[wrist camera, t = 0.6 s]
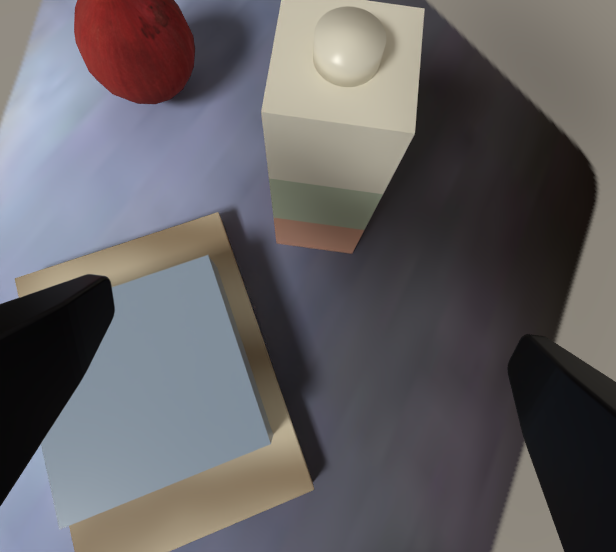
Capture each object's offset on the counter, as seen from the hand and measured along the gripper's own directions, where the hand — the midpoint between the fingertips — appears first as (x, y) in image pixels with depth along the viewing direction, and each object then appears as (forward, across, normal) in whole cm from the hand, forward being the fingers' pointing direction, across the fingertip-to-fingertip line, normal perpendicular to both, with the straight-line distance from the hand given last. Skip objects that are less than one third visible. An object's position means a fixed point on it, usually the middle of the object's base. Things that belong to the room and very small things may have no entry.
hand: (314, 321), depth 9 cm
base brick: (+7, +7, +10) cm, 14 cm away
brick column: (+15, 0, +3) cm, 15 cm away
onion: (+20, +11, -1) cm, 23 cm away
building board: (+8, +7, +11) cm, 15 cm away
